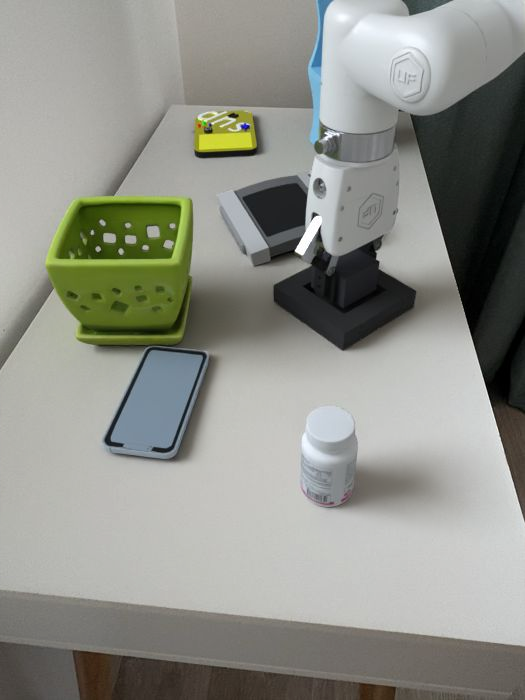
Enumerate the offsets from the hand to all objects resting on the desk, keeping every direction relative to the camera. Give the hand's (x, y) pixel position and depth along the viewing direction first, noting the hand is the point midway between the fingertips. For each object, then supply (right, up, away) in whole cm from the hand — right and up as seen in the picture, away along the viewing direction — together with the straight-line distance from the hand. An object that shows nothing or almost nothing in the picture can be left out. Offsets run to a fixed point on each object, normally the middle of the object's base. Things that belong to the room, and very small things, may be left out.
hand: (344, 284), depth 74 cm
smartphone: (-20, -13, -10) cm, 26 cm away
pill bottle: (-4, -20, -18) cm, 27 cm away
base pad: (0, -2, +2) cm, 3 cm away
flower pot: (-24, -4, +1) cm, 24 cm away
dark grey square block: (0, 0, 0) cm, 0 cm away
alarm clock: (-6, +10, +16) cm, 20 cm away
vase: (+4, +28, +36) cm, 46 cm away
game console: (-16, +31, +40) cm, 53 cm away
